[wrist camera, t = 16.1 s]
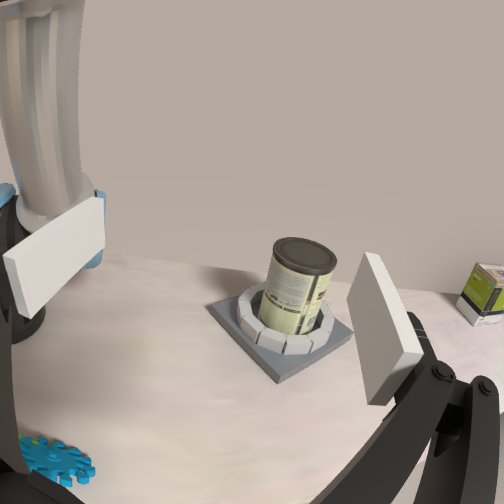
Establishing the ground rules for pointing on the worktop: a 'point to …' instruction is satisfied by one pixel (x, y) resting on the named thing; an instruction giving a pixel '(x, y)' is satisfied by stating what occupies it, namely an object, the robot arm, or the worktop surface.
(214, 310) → the housing
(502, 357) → the worktop surface
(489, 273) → the tea box
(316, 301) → the coffee can
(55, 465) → the gear
